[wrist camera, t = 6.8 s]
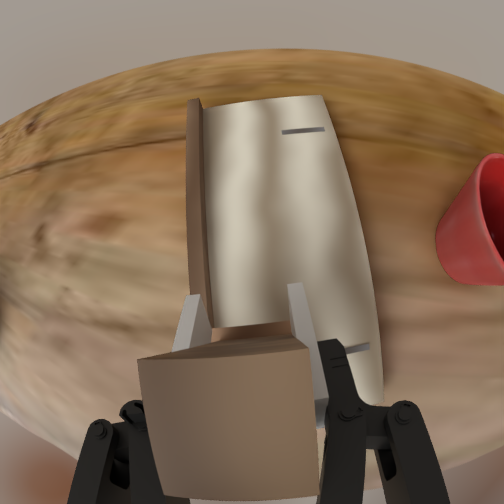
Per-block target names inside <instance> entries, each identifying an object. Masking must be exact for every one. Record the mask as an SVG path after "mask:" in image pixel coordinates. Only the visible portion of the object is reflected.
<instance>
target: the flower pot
mask: <svg viewBox="0 0 504 504" xmlns="http://www.w3.org/2000/svg"><path fill="white" fill-rule="evenodd" d="M435 239H436V250H437V254H438V258H439V260H440V263H441V265H442V266H443V268H444V270H445V271H446V273H447V274H448V275H449V276H450V277H451V278H452V279H454V280H455V281H457V282H459V283H462V284H469V285H504V155H503V154H499V153H492V154H489V155H487V156H485V157H484V158H483V159H482V160H481V161H480V163H479V164H478V165H477V167H476V168H475V170H474V171H473V173H472V174H471V176H470V177H469V179H468V180H467V182H466V183H465V185H464V186H463V188H462V189H461V191H460V192H459V194H458V195H457V197H456V198H455V199H454V201H453V202H452V204H451V205H450V207H449V208H448V210H447V211H446V213H445V214H444V216H443V217H442V219H441V220H440V222H439V224H438V227H437V230H436V238H435Z"/></svg>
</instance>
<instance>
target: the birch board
mask: <svg viewBox="0 0 504 504" xmlns="http://www.w3.org/2000/svg"><path fill="white" fill-rule="evenodd" d="M186 221H187V249H188V269H189V285H190V295H196V294H200V295H201V298H202V301H203V304H204V307H205V310H206V313H207V316H208V319H209V322H210V325H211V328H223V327H234V326H244V325H254V324H263V323H272V322H280V321H288V320H290V312H289V300H288V288H287V284H292V283H299V282H302V283H303V287H304V291H305V295H306V299H307V303H308V307H309V311H310V315H311V319H312V323H313V328H314V332H315V336H316V340H317V341H323V340H329V339H335V338H337V339H338V340H339V341H340V342H341V344H342V345H343V346H344V348H345V351H346V355H347V358H348V361H349V366H350V368H351V371H352V375H353V378H354V382H355V385H356V389H357V392H358V395H359V397H360V398H361V399H362V400H363V401H364V402H365V403H367V404H369V405H374V404H377V403H381V402H384V383H383V367H382V354H381V344H380V334H379V325H378V317H377V310H376V303H375V296H374V289H373V283H372V277H371V271H370V266H369V261H368V255H367V250H366V245H365V241H364V236H363V231H362V227H361V222H360V218H359V214H358V210H357V206H356V202H355V198H354V194H353V190H352V187H351V183H350V179H349V176H348V172H347V169H346V165H345V162H344V159H343V155H342V152H341V149H340V146H339V143H338V140H337V137H336V133H335V131H334V128H333V125H332V122H331V119H330V116H329V113H328V111H327V108H326V105H325V102H324V100H323V97H322V95H311V96H295V97H283V98H273V99H263V100H255V101H248V102H241V103H234V104H228V105H222V106H216V107H211V108H206V109H203V108H202V105H201V102H200V99H199V98H196V99H192V100H188V103H187V130H186Z"/></svg>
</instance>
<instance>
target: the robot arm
mask: <svg viewBox="0 0 504 504" xmlns="http://www.w3.org/2000/svg"><path fill="white" fill-rule="evenodd" d="M287 288H288V300H289V312H290V324H291V330H292V335H293V336H294V337H295V338H297V339H298V340H300V341H301V342H302V343H303V344H305V345H306V346H307V347H308V348H309V351H310V361H311V371H312V381H313V392H314V404H315V417H316V429H319V428H324V425H325V430H326V437H325V441H324V444H325V445H324V454H323V462H322V469H321V477H320V484H319V489H320V495H318V496H317V503H316V504H362V500H363V490H364V477H365V461H366V449H374V452H375V456H376V460H377V464H378V468H379V472H380V476H381V481H382V485H383V489H384V494H385V499H386V503H387V504H450V501H449V497H448V493H447V490H446V486H445V483H444V479H443V476H442V472H441V469H440V466H439V463H438V460H437V457H436V454H435V451H434V448H433V445H432V442H431V439H430V436H429V434H428V431H427V428H426V425H425V423H424V420H423V418H422V415H421V412H420V410H419V408H418V407H417V405H415V404H414V403H412V402H410V401H406V400H404V401H398V402H396V403H395V404H393V405H392V406H391V407H383V406H372V405H369V404H367V403H365V402H364V401H363V400H362V399H361V398H360V397H359V395H358V392H357V389H356V385H355V382H354V378H353V375H352V371H351V368H350V366H349V361H348V358H347V355H346V351H345V348H344V346H343V345H342V344H341V342H340V341H339V340H338V339H337V338H335V339H329V340H323V341H317V340H316V336H315V332H314V328H313V323H312V319H311V315H310V311H309V307H308V303H307V299H306V295H305V291H304V287H303V283H302V282H299V283H292V284H287ZM211 338H212V328H211V325H210V322H209V319H208V316H207V313H206V310H205V307H204V304H203V301H202V298H201V295H200V294H196V295H186V298H185V302H184V306H183V309H182V313H181V317H180V321H179V324H178V328H177V332H176V336H175V340H174V344H173V348H172V352H175V351H179V350H183V349H188V348H192V347H196V346H200V345H204V344H208V343H211ZM119 416H120V417H121V418H122V419H123V420H124V422H119V423H114V424H111V423H110V422H109V421H107V420H105V419H98V420H96V421H94V422H93V423H92V424H90V426H89V428H88V431H87V434H86V437H85V440H84V443H83V446H82V450H81V453H80V456H79V460H78V463H77V467H76V470H75V474H74V478H73V481H72V485H71V490H70V494H69V498H68V502H67V504H190V500H189V498H182V497H174V496H167V495H164V493H163V490H162V486H161V483H160V479H159V476H158V472H157V468H156V464H155V460H154V456H153V451H152V447H151V443H150V438H149V433H148V428H147V423H146V418H145V412H144V406H143V400H142V401H141V400H132V401H129V402H128V403H126V404H125V405H124V406H123V407H122V408H121V410H120V414H119Z"/></svg>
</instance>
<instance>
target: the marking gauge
mask: <svg viewBox="0 0 504 504" xmlns="http://www.w3.org/2000/svg"><path fill="white" fill-rule="evenodd" d="M137 363H138V372H139V379H140V387H141V394H142V400H143V406H144V412H145V418H146V423H147V428H148V433H149V438H150V443H151V447H152V451H153V456H154V460H155V464H156V468H157V472H158V476H159V479H160V483H161V486H162V490H163V493H164V495H167V496H174V497H182V498H192V499H202V500H219V501H260V500H261V501H262V500H279V499H290V498H300V497H307V496H314V495H320V489H319V465H318V446H317V431H316V417H315V404H314V392H313V381H312V371H311V361H310V351H309V348H308V347H307V346H306V345H305V344H303V343H302V342H301V341H300V340H298V339H297V338H295V337H294V336H293V335H292V330H291V324H290V320H288V321H280V322H272V323H263V324H254V325H244V326H234V327H223V328H212V338H211V343H208V344H204V345H200V346H196V347H192V348H188V349H183V350H179V351H175V352H170V353H166V354H161V355H156V356H152V357H147V358H142V359H137Z"/></svg>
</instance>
